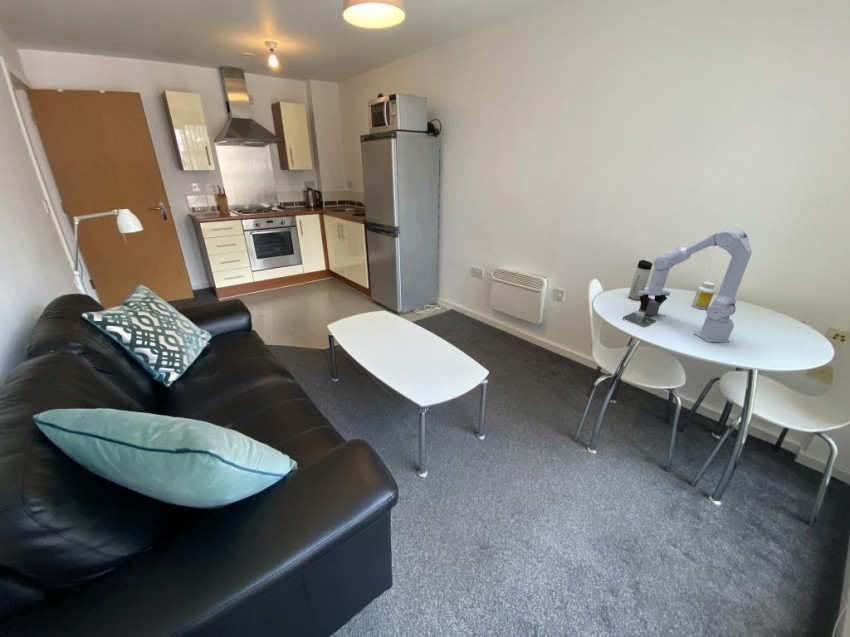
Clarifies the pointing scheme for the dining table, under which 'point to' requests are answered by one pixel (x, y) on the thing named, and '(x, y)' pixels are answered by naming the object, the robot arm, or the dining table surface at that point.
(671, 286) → the dining table surface
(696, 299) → the supplement bottle
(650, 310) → the grey cube with tab
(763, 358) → the dining table surface
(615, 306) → the dining table surface
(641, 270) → the travel mug
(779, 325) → the dining table surface
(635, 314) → the plate
